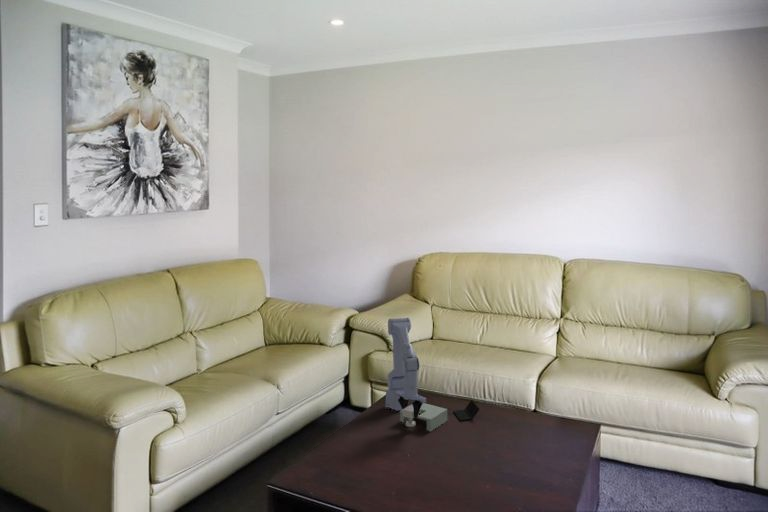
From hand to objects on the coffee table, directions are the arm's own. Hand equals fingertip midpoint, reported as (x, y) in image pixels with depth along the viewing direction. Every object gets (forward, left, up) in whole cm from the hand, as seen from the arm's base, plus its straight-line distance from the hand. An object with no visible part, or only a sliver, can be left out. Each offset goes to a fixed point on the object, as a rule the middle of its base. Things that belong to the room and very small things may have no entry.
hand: (410, 415), depth 248 cm
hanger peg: (0, 0, -4) cm, 4 cm away
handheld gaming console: (+12, +27, -7) cm, 31 cm away
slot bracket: (0, +10, -6) cm, 12 cm away
